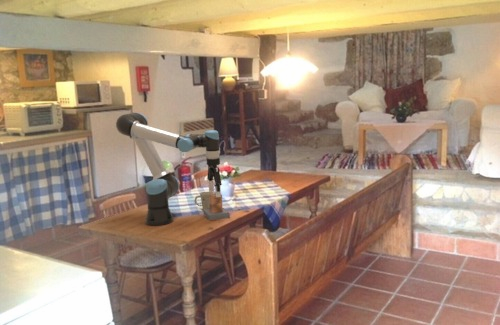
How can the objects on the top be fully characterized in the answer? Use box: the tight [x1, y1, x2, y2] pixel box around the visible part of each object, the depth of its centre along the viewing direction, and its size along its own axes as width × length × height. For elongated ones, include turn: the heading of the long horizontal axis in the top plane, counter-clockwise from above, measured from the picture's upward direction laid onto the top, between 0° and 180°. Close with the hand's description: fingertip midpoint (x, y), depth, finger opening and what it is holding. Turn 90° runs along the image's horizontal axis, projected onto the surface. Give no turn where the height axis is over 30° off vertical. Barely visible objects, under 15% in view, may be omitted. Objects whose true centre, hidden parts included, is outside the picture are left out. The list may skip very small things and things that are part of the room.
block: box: [209, 192, 224, 213], centre depth 273 cm, size 6×6×10 cm
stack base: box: [203, 207, 231, 221], centre depth 274 cm, size 12×12×3 cm
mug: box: [194, 191, 215, 211], centre depth 291 cm, size 8×13×10 cm, turn 78°
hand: (214, 194), depth 272 cm, fingers open, 13 cm apart
